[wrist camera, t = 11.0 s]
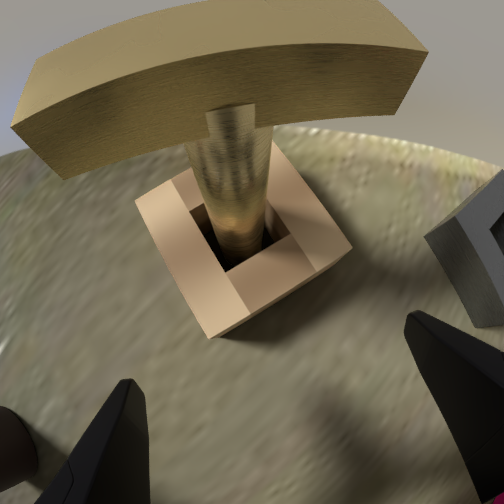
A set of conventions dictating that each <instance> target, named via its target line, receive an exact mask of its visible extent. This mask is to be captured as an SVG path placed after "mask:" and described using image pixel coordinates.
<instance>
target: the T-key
mask: <svg viewBox="0 0 504 504" xmlns="http://www.w3.org/2000/svg"><path fill="white" fill-rule="evenodd" d="M427 55H428V50H427V49H426V48H425V47H424V46H423V45H422V44H421V42H420V41H419V40H418V39H417V38H416V37H415V36H414V35H413V34H412V33H411V32H410V31H409V30H408V29H407V28H406V27H405V26H404V25H403V24H402V22H400V21H399V20H398V19H397V18H396V17H395V16H394V15H393V14H392V13H391V12H390V11H389V10H388V9H387V8H386V7H385V6H384V5H382V4H381V3H380V2H379V1H378V0H208V1H202V2H196V3H192V4H186V5H181V6H177V7H172V8H168V9H164V10H160V11H156V12H153V13H149V14H145V15H142V16H138V17H135V18H132V19H129V20H126V21H123V22H120V23H117V24H114V25H111V26H109V27H106V28H103V29H100V30H98V31H95V32H93V33H90V34H88V35H86V36H83V37H81V38H79V39H76V40H74V41H72V42H70V43H68V44H65V45H63V46H61V47H60V48H58V49H55V50H53V51H51V52H50V53H47V54H46V55H44V56H42V57H40V58H38V59H37V60H36V62H35V64H34V66H33V68H32V71H31V73H30V75H29V77H28V80H27V82H26V85H25V87H24V90H23V92H22V95H21V97H20V100H19V103H18V106H17V108H16V111H15V115H14V117H13V120H12V123H11V128H12V129H13V130H14V132H16V134H17V135H18V136H20V138H21V139H22V140H23V141H24V142H25V143H26V144H27V145H28V146H29V147H30V148H31V149H32V150H33V151H34V152H35V153H36V154H37V155H38V156H39V157H40V158H41V159H42V160H43V161H44V162H45V163H46V164H47V165H48V166H49V167H50V168H51V169H52V170H54V171H55V172H56V173H57V174H58V175H59V176H60V177H61V178H62V179H63V180H66V179H69V178H71V177H74V176H77V175H79V174H82V173H85V172H88V171H91V170H94V169H96V168H99V167H102V166H105V165H108V164H112V163H115V162H118V161H121V160H124V159H127V158H131V157H134V156H138V155H141V154H144V153H148V152H152V151H155V150H159V149H163V148H166V147H170V146H174V145H178V144H182V143H183V144H184V147H185V150H186V152H187V155H188V158H189V161H190V164H191V167H192V170H193V173H194V176H195V179H196V181H197V184H198V187H199V190H200V193H201V196H202V199H203V201H204V204H205V207H206V210H207V213H208V215H209V218H210V221H211V224H212V227H213V229H214V232H215V235H216V238H217V240H218V243H219V246H220V248H221V251H222V254H223V256H224V258H225V260H226V261H227V262H228V263H229V264H231V265H233V266H235V267H236V266H238V265H239V264H241V263H243V262H244V261H246V260H248V259H249V258H251V257H253V256H254V255H256V254H258V253H259V252H261V249H262V240H263V230H264V220H265V210H266V200H267V189H268V179H269V169H270V158H271V148H272V137H273V126H275V125H281V124H289V123H296V122H304V121H313V120H323V119H333V118H345V117H360V116H381V115H395V113H396V111H397V110H398V108H399V106H400V104H401V103H402V101H403V99H404V97H405V95H406V94H407V92H408V90H409V88H410V86H411V85H412V83H413V81H414V79H415V77H416V75H417V74H418V72H419V70H420V68H421V66H422V64H423V62H424V60H425V59H426V57H427Z"/></svg>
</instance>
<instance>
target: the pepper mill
mask: <svg viewBox="0 0 504 504" xmlns="http://www.w3.org/2000/svg"><path fill="white" fill-rule="evenodd" d="M493 504H504V493H502V494H500V495H498V496H497V497H496V498H495V500H494V502H493Z"/></svg>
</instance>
